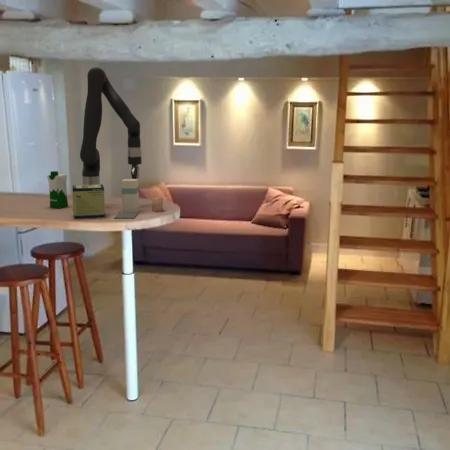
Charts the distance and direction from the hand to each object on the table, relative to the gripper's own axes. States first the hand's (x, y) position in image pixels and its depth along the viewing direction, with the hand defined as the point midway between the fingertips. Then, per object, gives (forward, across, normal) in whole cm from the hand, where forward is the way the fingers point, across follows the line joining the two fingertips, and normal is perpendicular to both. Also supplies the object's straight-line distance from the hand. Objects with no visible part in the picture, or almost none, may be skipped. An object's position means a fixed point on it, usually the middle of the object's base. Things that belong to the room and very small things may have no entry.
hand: (135, 186), depth 298 cm
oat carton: (+11, +16, 0) cm, 19 cm away
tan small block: (+11, +14, +14) cm, 23 cm away
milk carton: (+11, +5, -42) cm, 44 cm away
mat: (+11, +28, 0) cm, 30 cm away
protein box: (+11, +29, -19) cm, 36 cm away
